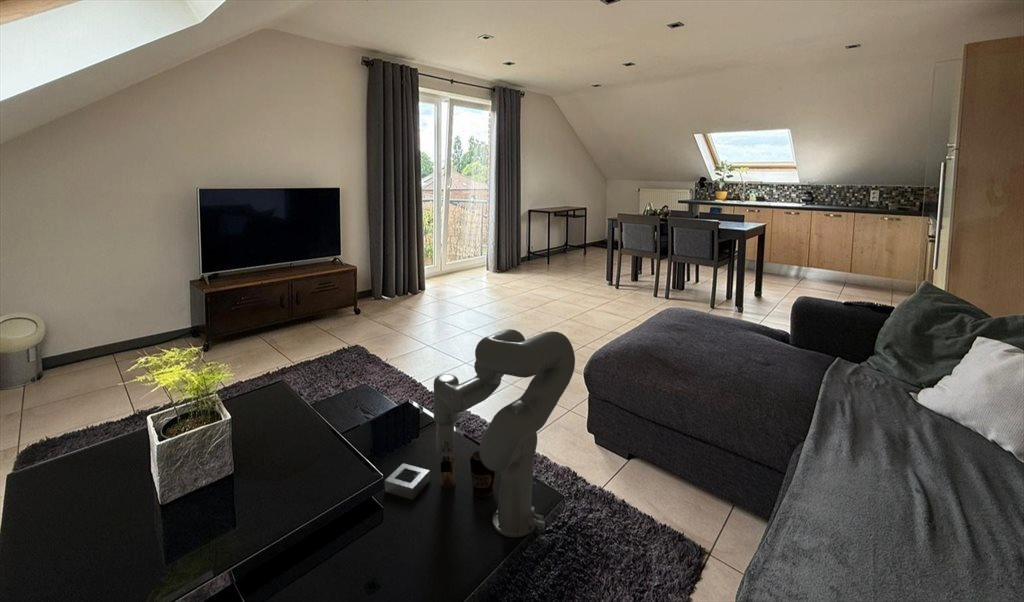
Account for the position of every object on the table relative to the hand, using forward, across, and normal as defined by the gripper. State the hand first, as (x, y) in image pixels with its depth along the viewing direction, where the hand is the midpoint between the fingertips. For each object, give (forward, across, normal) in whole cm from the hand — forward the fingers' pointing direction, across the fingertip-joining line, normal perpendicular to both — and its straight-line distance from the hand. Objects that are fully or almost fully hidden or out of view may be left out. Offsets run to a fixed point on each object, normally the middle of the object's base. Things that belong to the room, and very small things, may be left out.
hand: (445, 462), depth 155 cm
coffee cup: (+7, +6, +12) cm, 15 cm away
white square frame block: (+8, 0, -12) cm, 14 cm away
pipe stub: (+8, +1, +1) cm, 8 cm away
